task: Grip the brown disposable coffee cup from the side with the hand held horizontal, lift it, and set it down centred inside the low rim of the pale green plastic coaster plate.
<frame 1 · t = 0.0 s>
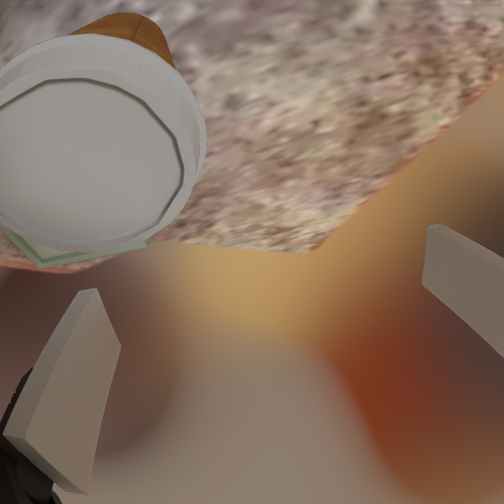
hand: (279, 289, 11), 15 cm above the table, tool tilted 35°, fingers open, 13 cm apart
coaster plate: (60, 205, 24), on the table
disposable coffee cup: (119, 54, 15), on the table
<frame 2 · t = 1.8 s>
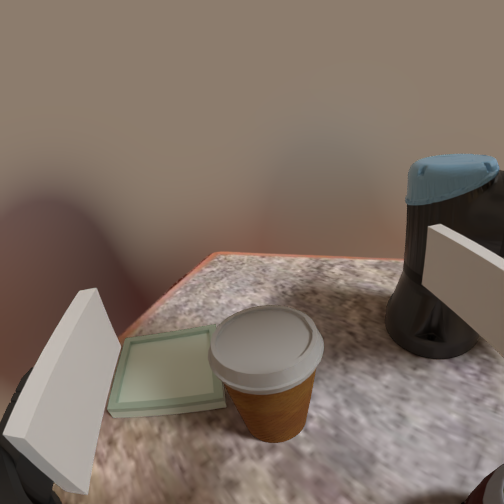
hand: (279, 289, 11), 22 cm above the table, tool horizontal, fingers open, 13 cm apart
coaster plate: (169, 373, 36), on the table
disposable coffee cup: (276, 420, 28), on the table
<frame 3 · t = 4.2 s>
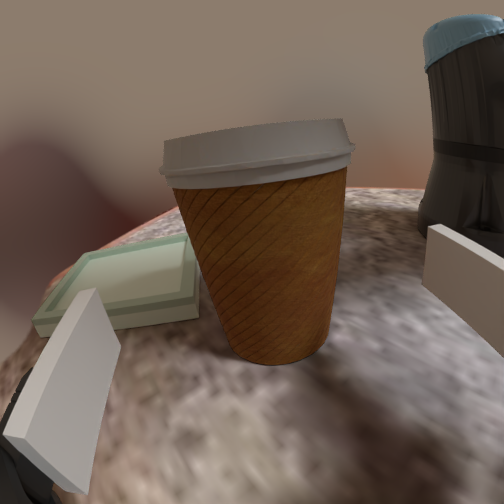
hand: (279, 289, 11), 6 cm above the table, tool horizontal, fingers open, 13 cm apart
coaster plate: (127, 286, 27), on the table
disposable coffee cup: (278, 332, 19), on the table
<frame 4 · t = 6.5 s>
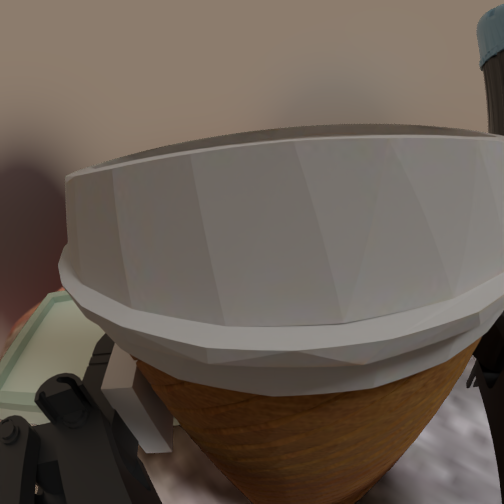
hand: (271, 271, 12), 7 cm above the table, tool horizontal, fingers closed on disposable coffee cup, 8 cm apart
coaster plate: (96, 350, 19), on the table
disposable coffee cup: (308, 458, 10), on the table, touching gripper
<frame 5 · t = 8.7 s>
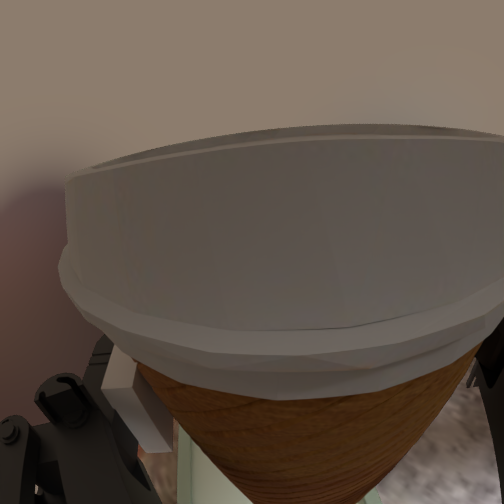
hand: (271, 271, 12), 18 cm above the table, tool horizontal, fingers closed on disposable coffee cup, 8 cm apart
coaster plate: (272, 489, 18), on the table
disposable coffee cup: (308, 458, 10), point 11 cm above the table, touching gripper
when the fingers open (9 cm above the table, at t = 11.1 s): disposable coffee cup drops 1 cm, resting on coaster plate.
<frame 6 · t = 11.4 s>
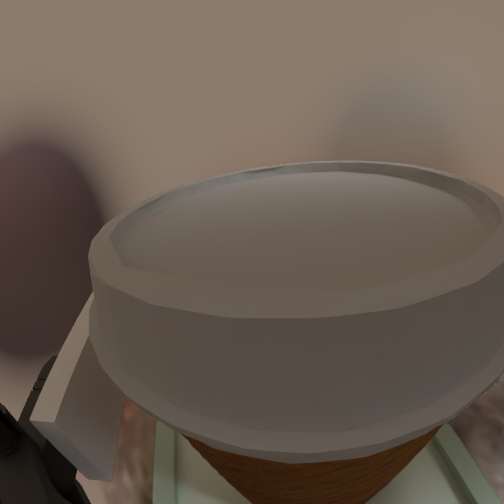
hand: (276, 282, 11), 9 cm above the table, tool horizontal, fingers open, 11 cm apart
coaster plate: (307, 476, 11), on the table
disposable coffee cup: (312, 469, 11), point 1 cm above the table, touching coaster plate
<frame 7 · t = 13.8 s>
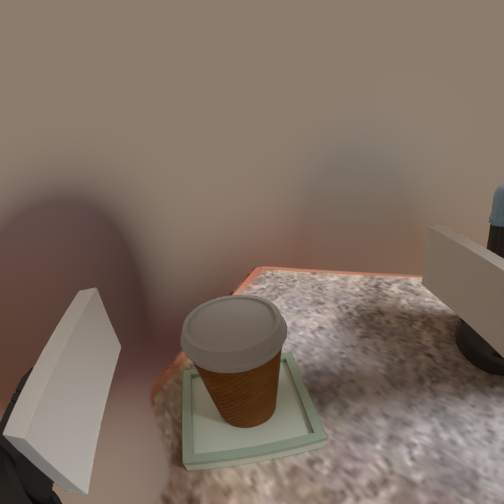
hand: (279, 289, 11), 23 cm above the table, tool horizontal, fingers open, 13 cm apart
coaster plate: (246, 412, 31), on the table
disposable coffee cup: (247, 407, 30), point 1 cm above the table, touching coaster plate
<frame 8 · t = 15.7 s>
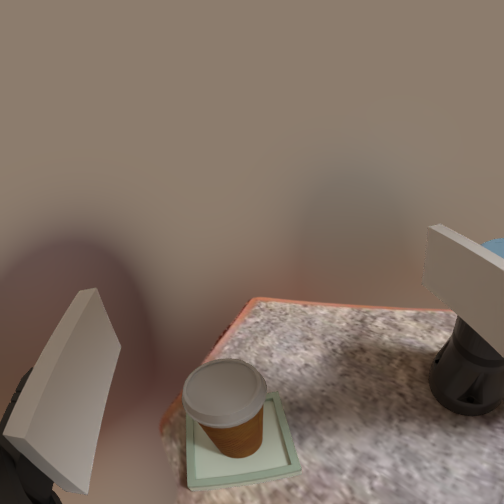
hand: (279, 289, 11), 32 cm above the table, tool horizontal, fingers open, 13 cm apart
coaster plate: (239, 443, 36), on the table
disposable coffee cup: (239, 440, 35), point 1 cm above the table, touching coaster plate
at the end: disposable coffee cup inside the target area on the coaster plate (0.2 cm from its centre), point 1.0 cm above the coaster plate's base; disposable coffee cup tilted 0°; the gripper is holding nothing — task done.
